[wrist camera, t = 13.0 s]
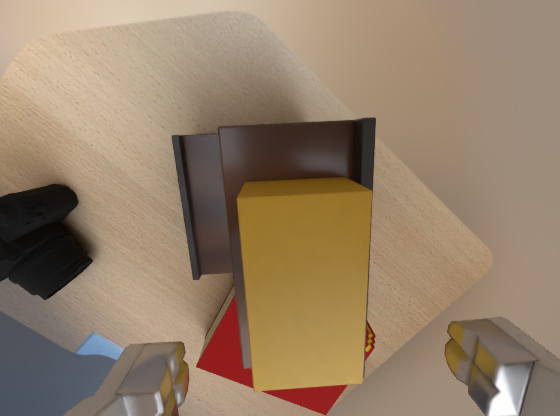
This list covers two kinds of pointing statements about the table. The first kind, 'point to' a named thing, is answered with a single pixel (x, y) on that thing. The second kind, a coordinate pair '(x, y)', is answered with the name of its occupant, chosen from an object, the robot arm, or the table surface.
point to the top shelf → (289, 174)
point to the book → (228, 363)
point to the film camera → (39, 240)
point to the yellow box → (305, 280)
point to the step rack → (203, 203)
